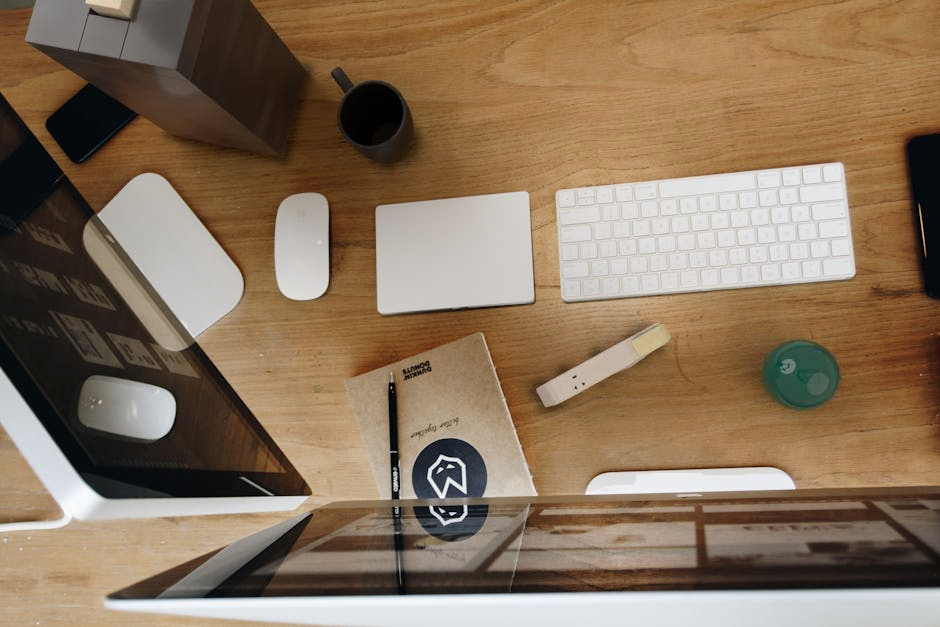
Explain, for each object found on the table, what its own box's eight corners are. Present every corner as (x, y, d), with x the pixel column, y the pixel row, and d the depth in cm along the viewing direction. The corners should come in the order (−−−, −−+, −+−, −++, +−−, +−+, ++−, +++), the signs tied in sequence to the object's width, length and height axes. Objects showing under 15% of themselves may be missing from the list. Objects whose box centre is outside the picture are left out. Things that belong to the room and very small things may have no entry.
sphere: (740, 392, 81) (760, 394, 73) (767, 329, 81) (790, 324, 73) (808, 421, 80) (836, 426, 72) (835, 357, 80) (866, 355, 72)
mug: (381, 76, 90) (361, 40, 80) (435, 147, 88) (421, 119, 79) (330, 115, 90) (304, 84, 81) (383, 186, 88) (363, 163, 79)
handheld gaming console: (654, 350, 84) (546, 409, 83) (642, 329, 85) (535, 388, 84) (682, 338, 73) (558, 407, 72) (668, 315, 74) (545, 383, 73)
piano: (171, 135, 93) (23, 41, 67) (194, 49, 93) (57, -77, 68) (283, 158, 90) (175, 70, 65) (306, 70, 91) (208, -52, 65)
